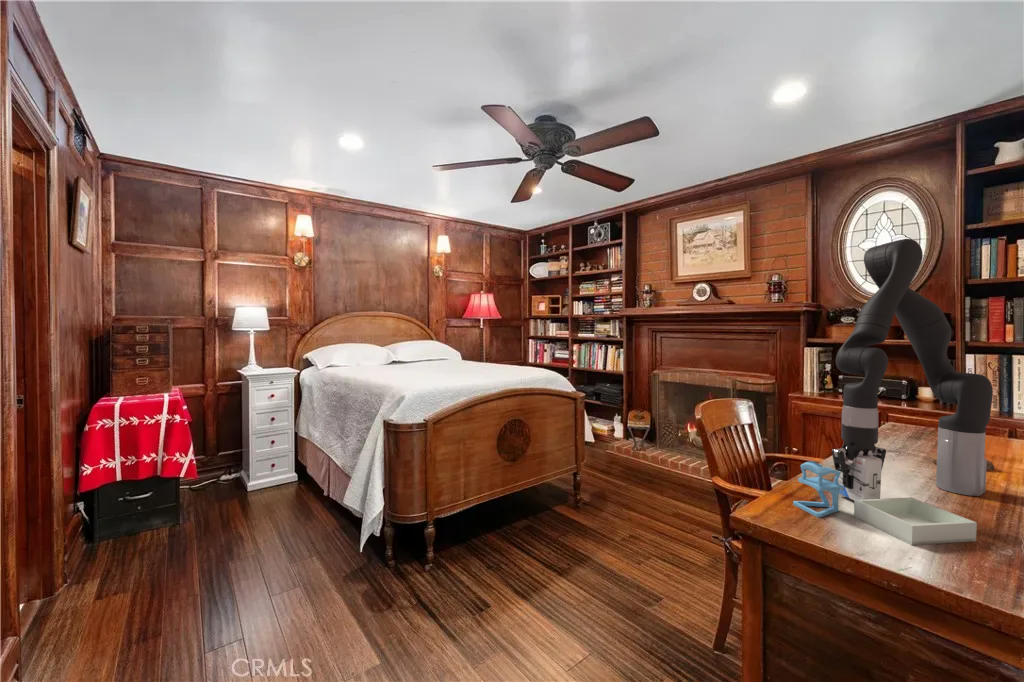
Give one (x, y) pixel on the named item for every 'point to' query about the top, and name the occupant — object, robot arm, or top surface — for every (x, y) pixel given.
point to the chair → (820, 488)
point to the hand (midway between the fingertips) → (857, 487)
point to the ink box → (864, 479)
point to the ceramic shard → (934, 459)
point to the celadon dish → (915, 521)
